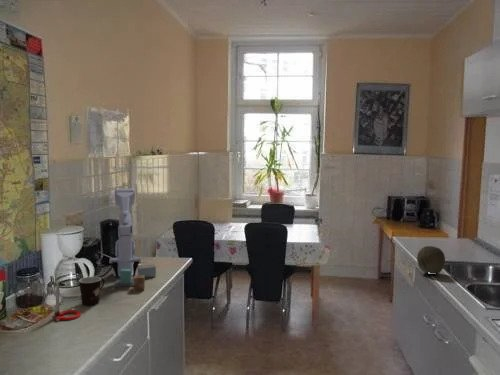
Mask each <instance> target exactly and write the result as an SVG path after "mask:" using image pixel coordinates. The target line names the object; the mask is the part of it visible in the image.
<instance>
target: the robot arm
mask: <svg viewBox="0 0 500 375" xmlns="http://www.w3.org/2000/svg"><path fill="white" fill-rule="evenodd" d="M114 202H115V206H117V207H119V210H120V213H119V215H118V227H117V235H118V239H117V240H116V241H115V246H114V250H115V254H114V256H115V257H113V258H109V264H111V268H112V270H113V272H112V273H113V275H112V276H113V277H115V279H119V277H120V271H121V269H131V277H132V279H134V276H135V275H136V274H137V273H136V272H137V270H138V266H140V265H139V264H140V263H142V257H134V256H135V255H136V242H135V240H134V239H133V237H132V236H133V234H134V233H133V232H134V230H133V228H134V227H133V222H132V214H131V213H130V209H131V207H132V206H134V204H135V188H134V187H132V188H114Z"/></svg>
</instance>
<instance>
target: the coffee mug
mask: <svg viewBox="0 0 500 375" xmlns="http://www.w3.org/2000/svg"><path fill="white" fill-rule="evenodd" d="M78 285H79V290H80V297H81V298H80V299H81V304H82V306H84V307H92V306H96V305H99V303H100V296H101V295H100V294H101V290H102V289H103V287H104V286H105V279H104V278H101V277H100V276H86V277H82V278H80V279H79V280H78Z"/></svg>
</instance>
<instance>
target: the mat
mask: <svg viewBox="0 0 500 375" xmlns="http://www.w3.org/2000/svg"><path fill="white" fill-rule="evenodd" d="M131 287H133V288H134V278H131V283H130V284H120V279H116V280H115V281H114V284H113V287H112V288H131Z"/></svg>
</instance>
